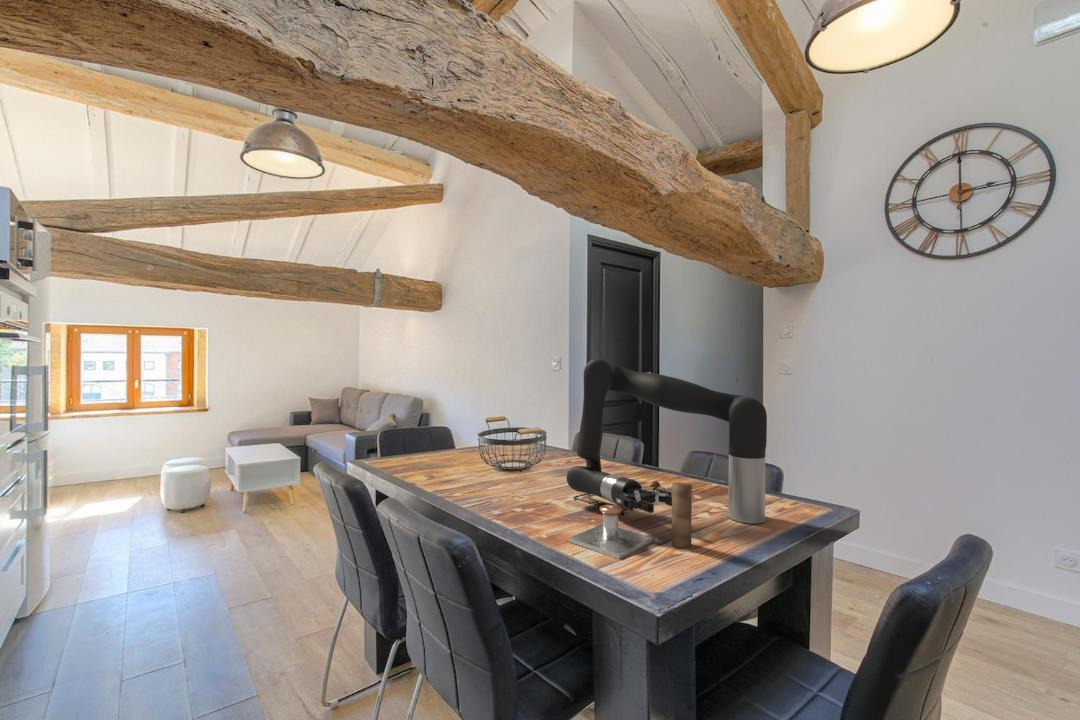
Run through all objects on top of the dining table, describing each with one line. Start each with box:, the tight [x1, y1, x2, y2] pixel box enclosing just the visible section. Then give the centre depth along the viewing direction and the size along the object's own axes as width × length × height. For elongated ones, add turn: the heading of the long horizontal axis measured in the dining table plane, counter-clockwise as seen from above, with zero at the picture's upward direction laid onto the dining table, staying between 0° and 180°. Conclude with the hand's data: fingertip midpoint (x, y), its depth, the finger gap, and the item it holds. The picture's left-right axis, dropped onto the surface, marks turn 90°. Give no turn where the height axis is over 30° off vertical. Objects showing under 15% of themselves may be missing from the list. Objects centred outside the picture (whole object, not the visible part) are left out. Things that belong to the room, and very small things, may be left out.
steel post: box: [568, 504, 653, 560], centre depth 114 cm, size 14×14×8 cm
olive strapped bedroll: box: [641, 480, 666, 501], centre depth 158 cm, size 21×5×10 cm
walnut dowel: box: [671, 481, 693, 549], centre depth 112 cm, size 4×4×14 cm
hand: (665, 506), depth 117 cm, fingers open, 8 cm apart
